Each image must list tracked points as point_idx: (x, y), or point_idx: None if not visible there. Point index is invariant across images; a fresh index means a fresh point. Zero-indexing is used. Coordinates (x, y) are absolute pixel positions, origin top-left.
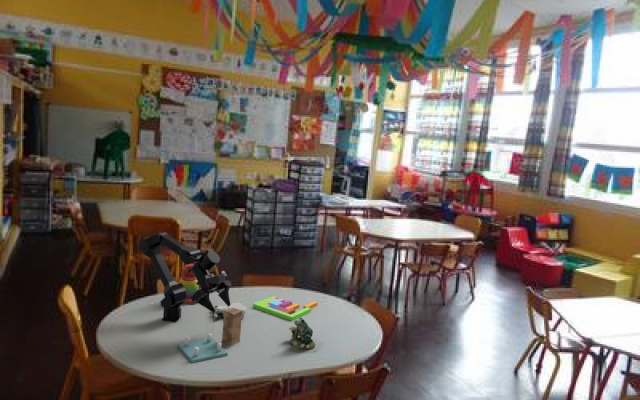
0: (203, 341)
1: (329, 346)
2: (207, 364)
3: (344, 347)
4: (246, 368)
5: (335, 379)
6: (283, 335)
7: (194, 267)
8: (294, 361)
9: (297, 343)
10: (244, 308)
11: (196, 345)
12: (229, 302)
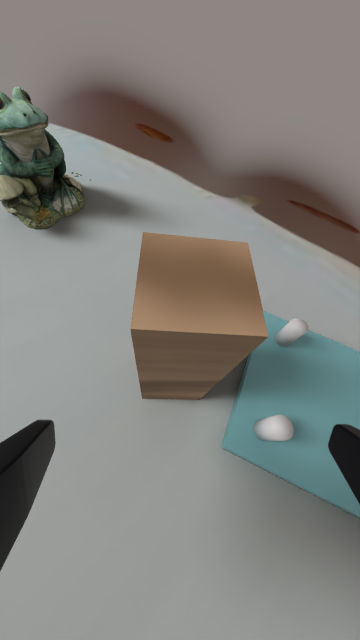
0: (283, 453)
1: None
2: (344, 326)
3: None
4: (267, 246)
5: (170, 139)
6: (3, 256)
7: None
8: (157, 191)
9: (74, 193)
10: None
11: None
12: (15, 444)
